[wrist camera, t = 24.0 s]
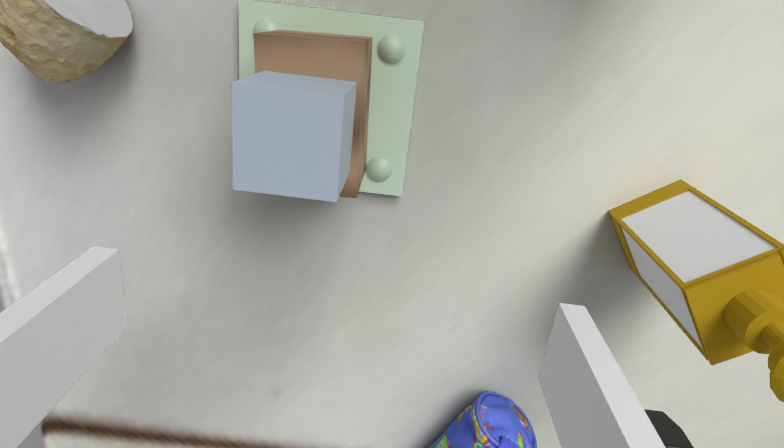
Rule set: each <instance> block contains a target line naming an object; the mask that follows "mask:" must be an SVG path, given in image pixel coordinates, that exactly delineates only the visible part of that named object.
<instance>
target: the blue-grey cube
mask: <svg viewBox="0 0 784 448" xmlns="http://www.w3.org/2000/svg"><path fill="white" fill-rule="evenodd" d="M356 89H357V82H354V81H345V80H337V79H329V78H320V77H312V76H304V75H296V74H287V73H279V72H271V71H261V72H259V73H256V74H253V75H250V76H248V77H245V78H242V79H240V80H237V81H234V82H232V83H231V92H232V164H233V190H239V191H248V192H256V193H264V194H272V195H281V196H289V197H297V198H305V199H314V200H322V201H330V202H337V200H338V198H339V196H340V193H341V191H342V189H343V186H344V184H345V182H346V179H347V177H348V175H349V172H350V163H351V150H352V138H353V126H354V113H355V101H356Z"/></svg>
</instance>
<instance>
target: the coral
mask: <svg viewBox="0 0 784 448" xmlns="http://www.w3.org/2000/svg"><path fill="white" fill-rule="evenodd" d="M133 27H134V24H133V21H132V15H131V12H130V8H129V6H128V3H127V0H0V42H1V43H2V44H3V46H4V47H5V48H7V49H8V50H9V51H10V52H11V53H12V54H13V55H14V56H15V57H16V58H17V59H18V60H19V61H20V62H21V63H23V64H24V66H26V67H27V68H28V69H29V70H30V71H31V72H32V73H33V74H35V75H37V76H39V77H41V78H42V79H44V80H45V81H49V82H51V83H60V82H69V81H71V80H76V79H78V78H80V77H82V76H85V75H87V74H90V73H91V72H93V71H94V70H96V69H98V68H100V67H101V66H102V65H103V63H104V62H106V60H107V59H109V58H111V57H112V56H113V55H114V53H115V52H116V50H117V49H118V48H119V47H120V46H121V45H122V44H123V43H124V42H125V41H126V39H127V38H128V37H129V35H130V34H131V32H132V29H133Z"/></svg>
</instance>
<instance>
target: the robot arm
mask: <svg viewBox="0 0 784 448" xmlns="http://www.w3.org/2000/svg"><path fill="white" fill-rule="evenodd" d="M127 327H128V323H127V314H126V306H125V297H124V288H123V279H122V270H121V261H120V252H119V249H114V248H105V247H97V246H93V247H91V248H90V249H89V250H87V251H86V252H85V253H83V254H82V255H80V256H79V257H78V258H76V259H75V260H73V261H72V262H71V263H69V264H68V265H66V266H65V267H64V268H62V269H61V270H59V271H58V272H57V273H55V274H54V275H52V276H51V277H50V278H48V279H47V280H46V281H44V282H43V283H41V284H40V285H39V286H37V287H36V288H34V289H33V290H32V291H30V292H29V293H27V294H26V295H25V296H23V297H22V298H20V299H19V300H18V301H16V302H15V303H13V304H12V305H11V306H9V307H8V308H7V309H5V310H4V311H2V312H1V313H0V448H16V447H17V446H18V445H19V444H20V443H21V442H22V441H23V440H24V439H25V438H26V437H27V435H28V434H29V433H30V432H31V431H32V430H33V429H34V428H35V427H36V426H37V425H38V424H39V422H40V421H41V420H42V419H43V418H44V417H45V416H46V415H47V414H48V413H49V412H50V411H51V410H52V408H53V407H54V406H55V405H56V404H57V403H58V402H59V401H60V400H61V399H62V398H63V397H64V395H65V394H66V393H67V392H68V391H69V390H70V389H71V388H72V387H73V386H74V385H75V384H76V382H77V381H78V380H79V379H80V378H81V377H82V376H83V375H84V374H85V373H86V372H87V371H88V369H89V368H90V367H91V366H92V365H93V364H94V363H95V362H96V361H97V360H98V359H99V358H100V356H101V355H102V354H103V353H104V352H105V351H106V350H107V349H108V348H109V347H110V346H111V345H112V343H113V342H114V341H115V340H116V339H117V338H118V337H119V336H120V335H121V334H122V333H123V332H124V331H125V329H126V328H127ZM538 378H539V381H540V384H541V387H542V390H543V393H544V396H545V399H546V402H547V405H548V408H549V411H550V414H551V417H552V420H553V423H554V426H555V429H556V432H557V435H558V438H559V441H560V444H561V447H562V448H693V446H692V444H691V443H690V441H689V440H688V438H687V437H686V435H685V433H684V432H683V430H682V429H681V428H680V427H679V426H678V425H677V424H676V423H675V422H673V421H672V420H671V419H670V418H669V417H668V416H667V415H666V414H665V413H664V412H661V411H653V410H644V409H643V407H642V405H641V404H640V402H639V400H638V398H637V397H636V395H635V393H634V391H633V390H632V388H631V386H630V384H629V383H628V381H627V379H626V377H625V376H624V374H623V372H622V370H621V369H620V367H619V365H618V363H617V362H616V360H615V358H614V356H613V355H612V353H611V351H610V349H609V348H608V346H607V344H606V342H605V341H604V339H603V337H602V335H601V334H600V332H599V330H598V328H597V327H596V325H595V323H594V321H593V320H592V318H591V316H590V314H589V313H588V311H587V309H586V307H585V306H581V305H573V304H565V303H559V305H558V308H557V312H556V315H555V319H554V323H553V326H552V330H551V333H550V337H549V340H548V344H547V347H546V351H545V354H544V358H543V361H542V365H541V368H540V372H539V376H538Z"/></svg>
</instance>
